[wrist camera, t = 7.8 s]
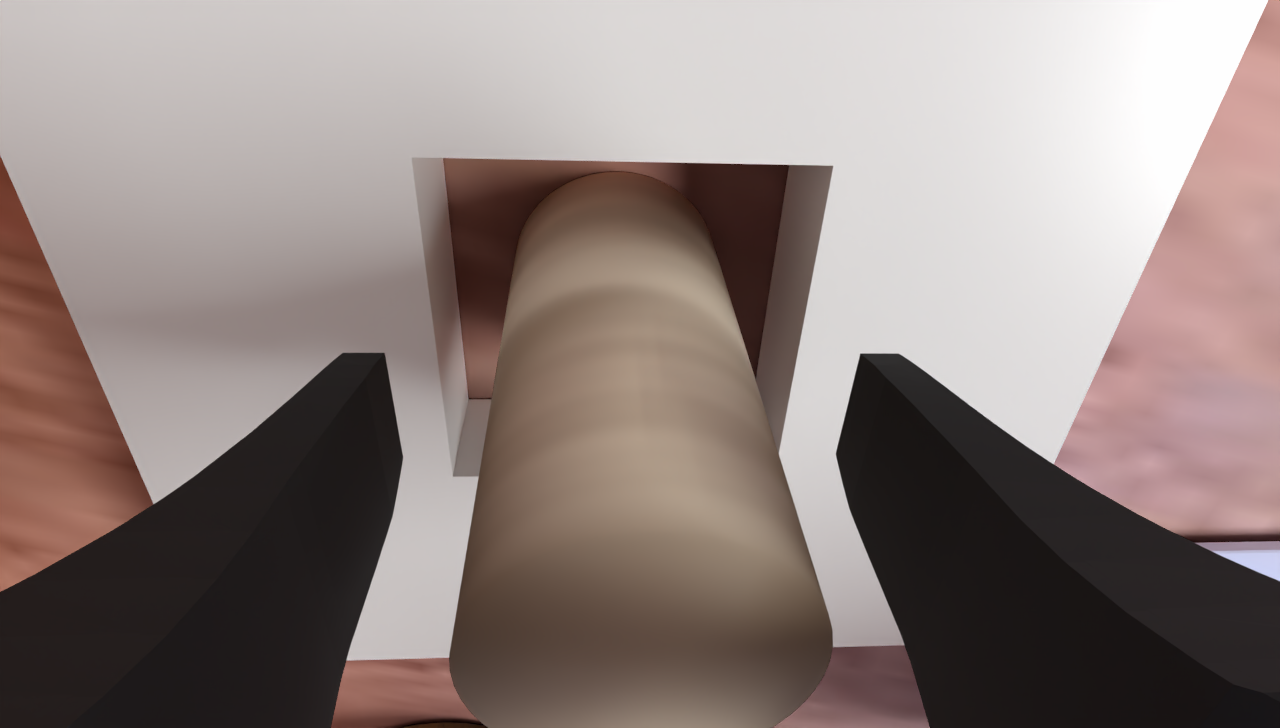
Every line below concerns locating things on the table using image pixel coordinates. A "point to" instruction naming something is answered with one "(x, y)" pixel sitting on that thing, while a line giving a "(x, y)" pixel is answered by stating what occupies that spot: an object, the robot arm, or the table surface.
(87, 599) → the robot arm
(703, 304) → the peg
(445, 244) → the socket
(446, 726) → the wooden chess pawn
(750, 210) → the table surface
